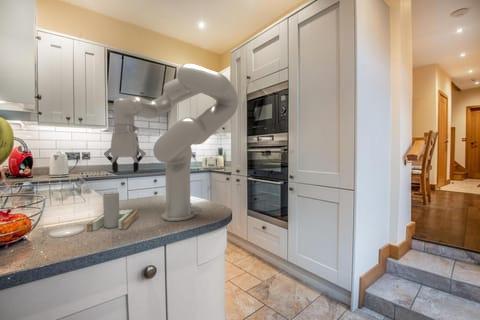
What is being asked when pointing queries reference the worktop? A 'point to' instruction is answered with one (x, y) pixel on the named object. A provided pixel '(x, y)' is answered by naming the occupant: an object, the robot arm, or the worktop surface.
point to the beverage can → (111, 209)
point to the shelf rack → (125, 223)
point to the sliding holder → (122, 216)
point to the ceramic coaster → (66, 231)
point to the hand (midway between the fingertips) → (125, 171)
